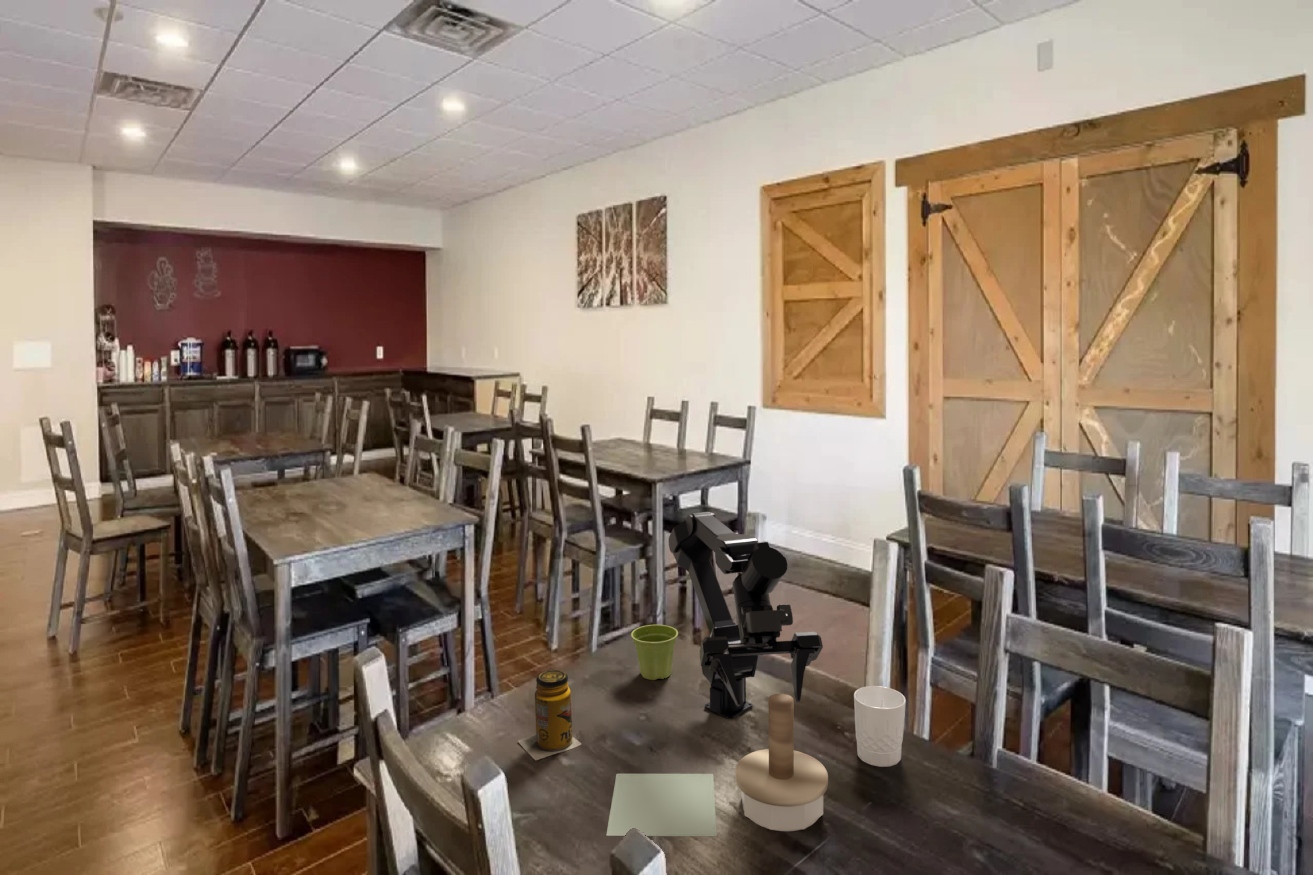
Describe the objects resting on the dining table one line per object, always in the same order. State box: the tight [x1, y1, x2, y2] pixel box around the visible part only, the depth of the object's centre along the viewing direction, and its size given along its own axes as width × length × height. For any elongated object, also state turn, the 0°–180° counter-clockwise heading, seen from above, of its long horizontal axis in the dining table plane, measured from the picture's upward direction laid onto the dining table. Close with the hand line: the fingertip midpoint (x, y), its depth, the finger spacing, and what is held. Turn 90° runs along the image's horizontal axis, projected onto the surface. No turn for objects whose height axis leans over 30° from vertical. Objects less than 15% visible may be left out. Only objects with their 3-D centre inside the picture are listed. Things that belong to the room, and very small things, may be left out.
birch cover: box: [735, 693, 829, 807], centre depth 109 cm, size 13×13×12 cm
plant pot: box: [630, 624, 679, 681], centre depth 155 cm, size 9×9×9 cm
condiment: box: [517, 669, 582, 761], centre depth 129 cm, size 7×8×12 cm
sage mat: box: [605, 773, 717, 837], centre depth 112 cm, size 15×15×1 cm
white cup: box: [853, 685, 907, 768], centre depth 123 cm, size 8×8×10 cm
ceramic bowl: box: [740, 790, 824, 832], centre depth 110 cm, size 11×11×4 cm
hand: (768, 703), depth 116 cm, fingers open, 9 cm apart
